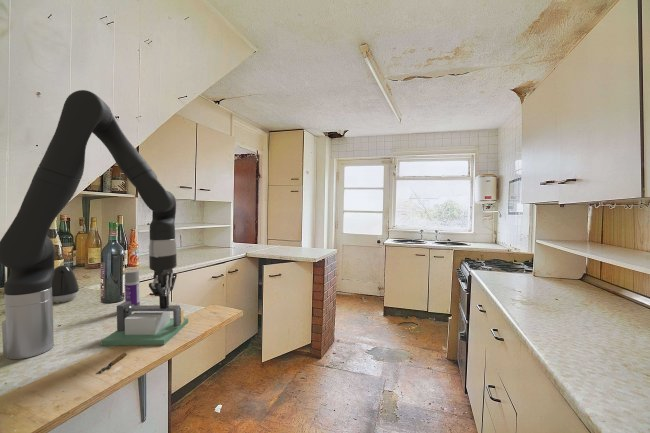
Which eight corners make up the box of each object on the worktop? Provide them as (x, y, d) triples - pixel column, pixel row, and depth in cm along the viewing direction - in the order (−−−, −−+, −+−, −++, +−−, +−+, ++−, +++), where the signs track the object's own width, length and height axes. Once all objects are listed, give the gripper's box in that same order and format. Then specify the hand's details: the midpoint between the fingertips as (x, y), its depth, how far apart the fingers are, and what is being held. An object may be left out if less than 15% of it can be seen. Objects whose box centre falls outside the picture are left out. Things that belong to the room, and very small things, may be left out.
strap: (123, 327, 91) (122, 308, 91) (130, 322, 94) (130, 304, 94) (176, 327, 91) (175, 308, 91) (181, 322, 95) (181, 304, 95)
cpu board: (101, 345, 85) (100, 313, 84) (135, 322, 101) (135, 295, 100) (164, 344, 85) (163, 313, 85) (188, 322, 101) (187, 295, 101)
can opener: (123, 356, 79) (123, 352, 79) (131, 356, 79) (130, 352, 79) (92, 375, 71) (92, 371, 70) (101, 376, 70) (100, 371, 70)
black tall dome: (45, 307, 115) (44, 269, 114) (47, 300, 123) (45, 264, 122) (79, 301, 122) (78, 265, 121) (78, 295, 130) (77, 261, 129)
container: (123, 312, 110) (122, 273, 110) (128, 307, 115) (127, 270, 114) (137, 310, 112) (136, 272, 111) (141, 306, 116) (140, 269, 116)
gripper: (162, 249, 98) (163, 300, 99) (138, 257, 85) (139, 315, 86) (184, 249, 99) (185, 300, 99) (164, 257, 85) (165, 315, 86)
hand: (164, 307), depth 93 cm, fingers closed
